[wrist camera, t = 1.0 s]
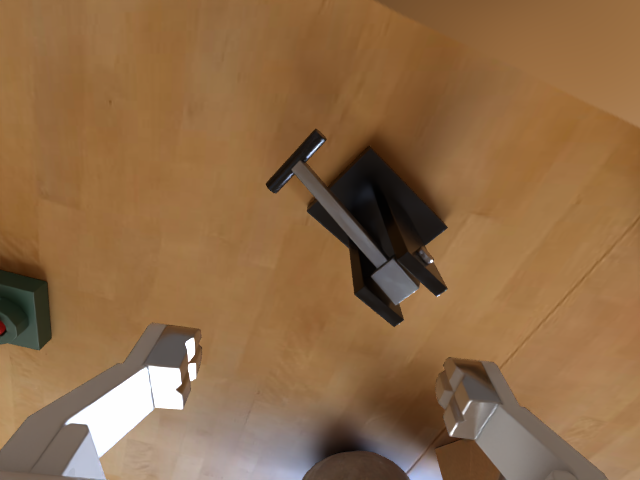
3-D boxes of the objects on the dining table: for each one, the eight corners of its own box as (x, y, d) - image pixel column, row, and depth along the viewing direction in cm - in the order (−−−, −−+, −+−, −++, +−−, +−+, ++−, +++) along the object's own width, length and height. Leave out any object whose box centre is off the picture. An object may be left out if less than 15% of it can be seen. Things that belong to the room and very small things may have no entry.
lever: (273, 182, 29) (259, 183, 26) (321, 130, 27) (310, 126, 24) (381, 308, 27) (376, 319, 25) (440, 264, 25) (441, 272, 23)
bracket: (307, 206, 36) (296, 280, 23) (369, 145, 32) (393, 193, 20) (381, 272, 39) (405, 365, 27) (444, 222, 36) (503, 303, 24)
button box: (-23, 263, 40) (-57, 283, 37) (47, 281, 41) (20, 302, 38) (-11, 323, 45) (-41, 346, 41) (51, 338, 46) (28, 361, 42)
